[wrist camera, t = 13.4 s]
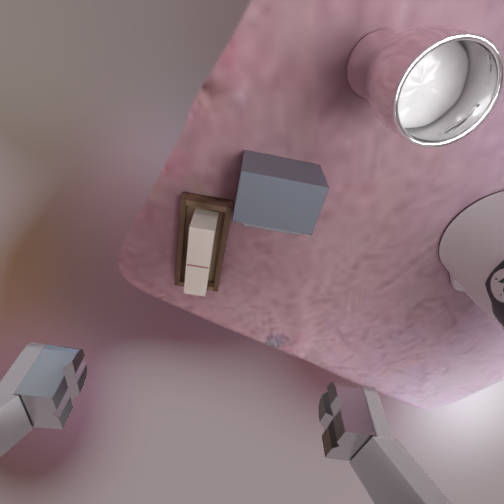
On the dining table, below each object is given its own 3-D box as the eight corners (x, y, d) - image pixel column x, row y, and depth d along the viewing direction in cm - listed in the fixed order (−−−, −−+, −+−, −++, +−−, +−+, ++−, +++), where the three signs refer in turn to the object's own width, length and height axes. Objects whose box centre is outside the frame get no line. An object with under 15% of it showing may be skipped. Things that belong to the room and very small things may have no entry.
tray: (233, 200, 41) (232, 208, 40) (218, 282, 50) (217, 291, 48) (183, 191, 41) (180, 199, 39) (177, 276, 49) (174, 284, 48)
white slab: (218, 212, 42) (214, 231, 38) (209, 275, 48) (205, 296, 45) (195, 208, 42) (189, 226, 38) (189, 272, 48) (183, 293, 44)
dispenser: (319, 165, 38) (328, 187, 33) (303, 213, 42) (309, 240, 37) (244, 149, 38) (241, 170, 32) (234, 201, 41) (231, 227, 36)
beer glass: (400, 104, 34) (477, 153, 22) (335, 101, 34) (377, 148, 22) (424, 25, 30) (533, 31, 18) (350, 21, 30) (410, 25, 18)
